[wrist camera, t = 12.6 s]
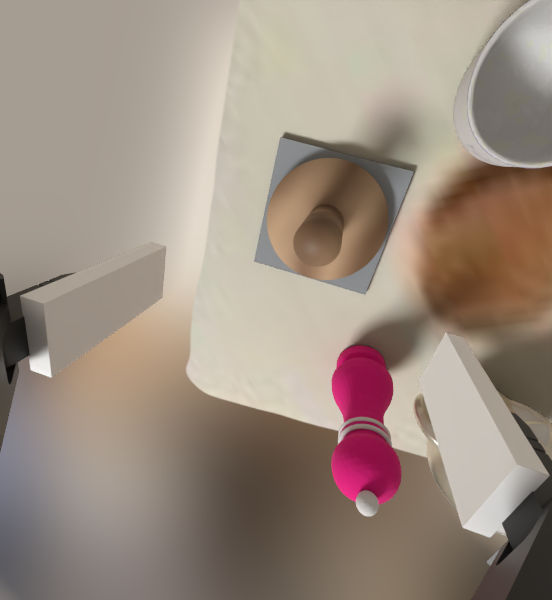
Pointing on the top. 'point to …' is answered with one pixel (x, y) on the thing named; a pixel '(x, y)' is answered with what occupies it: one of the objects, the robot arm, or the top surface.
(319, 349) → the top surface
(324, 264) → the lid
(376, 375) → the pepper mill
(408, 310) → the top surface
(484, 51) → the teacup
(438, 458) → the teapot
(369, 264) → the mat
